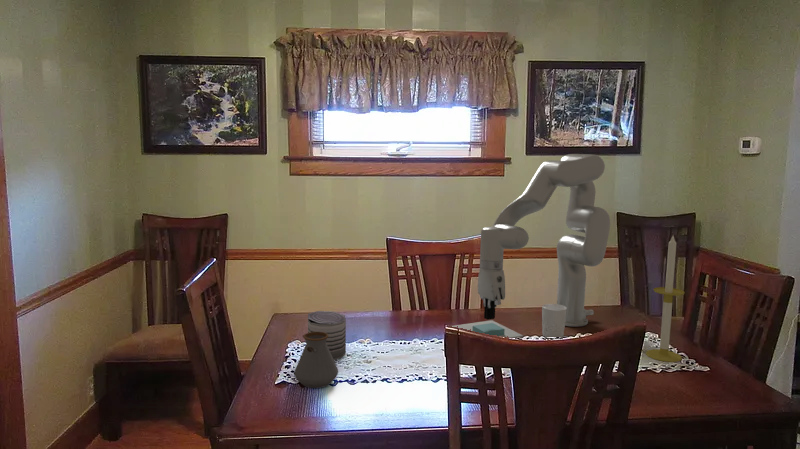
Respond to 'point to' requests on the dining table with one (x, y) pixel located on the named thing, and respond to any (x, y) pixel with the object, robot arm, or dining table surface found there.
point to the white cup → (553, 320)
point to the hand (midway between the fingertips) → (489, 318)
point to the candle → (667, 310)
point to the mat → (507, 332)
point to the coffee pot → (316, 362)
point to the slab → (489, 329)
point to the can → (330, 330)
